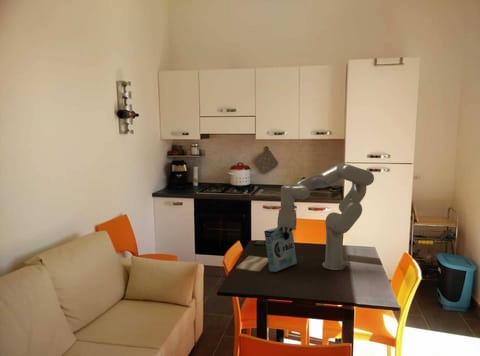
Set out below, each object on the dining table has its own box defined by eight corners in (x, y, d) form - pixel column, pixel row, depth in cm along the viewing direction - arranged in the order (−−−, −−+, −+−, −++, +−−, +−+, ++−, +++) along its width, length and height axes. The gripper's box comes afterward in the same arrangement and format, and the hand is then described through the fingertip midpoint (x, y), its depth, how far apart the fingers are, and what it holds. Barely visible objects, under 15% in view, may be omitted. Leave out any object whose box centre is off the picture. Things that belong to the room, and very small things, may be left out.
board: (270, 259, 225) (270, 258, 225) (259, 272, 205) (259, 271, 205) (249, 256, 230) (249, 255, 230) (235, 268, 210) (235, 267, 210)
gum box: (290, 263, 220) (285, 224, 220) (297, 263, 216) (292, 224, 216) (269, 271, 206) (263, 230, 207) (275, 272, 203) (270, 230, 203)
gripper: (302, 207, 207) (300, 239, 209) (276, 204, 212) (275, 236, 215) (299, 209, 200) (297, 242, 202) (272, 207, 205) (271, 239, 208)
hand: (286, 239), depth 208 cm, fingers closed
